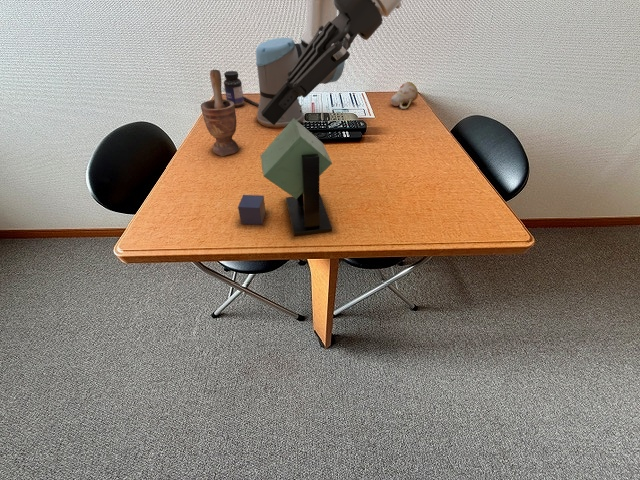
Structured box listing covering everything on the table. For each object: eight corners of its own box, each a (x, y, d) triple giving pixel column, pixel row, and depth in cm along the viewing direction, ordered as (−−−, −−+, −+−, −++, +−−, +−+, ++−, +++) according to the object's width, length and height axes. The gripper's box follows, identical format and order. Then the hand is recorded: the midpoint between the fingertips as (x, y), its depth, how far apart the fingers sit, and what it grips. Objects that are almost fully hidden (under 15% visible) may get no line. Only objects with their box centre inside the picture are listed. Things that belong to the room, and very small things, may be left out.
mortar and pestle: (205, 143, 102) (188, 71, 89) (233, 137, 105) (220, 66, 92) (215, 159, 94) (198, 83, 81) (245, 152, 97) (233, 78, 84)
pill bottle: (224, 104, 126) (218, 72, 118) (238, 100, 129) (233, 69, 121) (233, 109, 122) (227, 76, 115) (247, 105, 125) (243, 72, 118)
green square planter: (293, 117, 64) (260, 155, 68) (300, 136, 58) (263, 176, 62) (323, 143, 69) (290, 177, 72) (332, 163, 63) (296, 199, 66)
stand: (319, 197, 80) (319, 127, 69) (332, 231, 71) (334, 157, 59) (286, 200, 79) (280, 130, 68) (294, 236, 69) (288, 161, 58)
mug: (383, 105, 125) (392, 77, 123) (401, 113, 131) (410, 86, 128) (398, 106, 119) (407, 76, 117) (416, 114, 125) (425, 86, 122)
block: (241, 224, 73) (237, 206, 70) (246, 211, 76) (243, 194, 73) (262, 224, 72) (259, 207, 69) (266, 212, 76) (263, 195, 73)
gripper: (398, 28, 48) (288, 148, 57) (370, 13, 58) (279, 118, 66) (365, -18, 44) (252, 119, 52) (341, -26, 53) (248, 91, 62)
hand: (267, 118), depth 59 cm, fingers closed
